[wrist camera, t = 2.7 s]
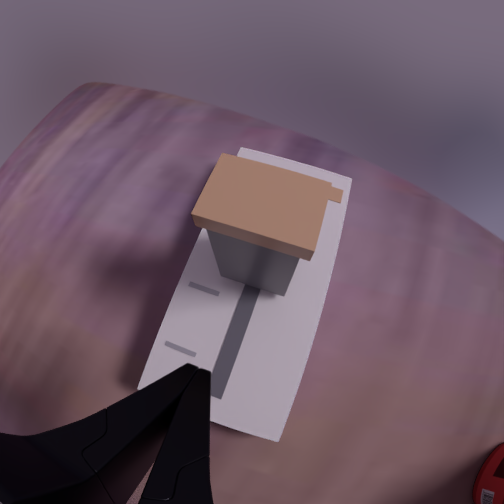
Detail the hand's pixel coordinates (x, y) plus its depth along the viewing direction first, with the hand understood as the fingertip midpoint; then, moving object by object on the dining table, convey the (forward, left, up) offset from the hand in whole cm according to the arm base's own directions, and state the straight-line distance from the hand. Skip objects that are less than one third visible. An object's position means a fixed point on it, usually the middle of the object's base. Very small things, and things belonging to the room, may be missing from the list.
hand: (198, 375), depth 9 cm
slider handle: (+2, +6, -7) cm, 10 cm away
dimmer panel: (+2, +6, -10) cm, 12 cm away
